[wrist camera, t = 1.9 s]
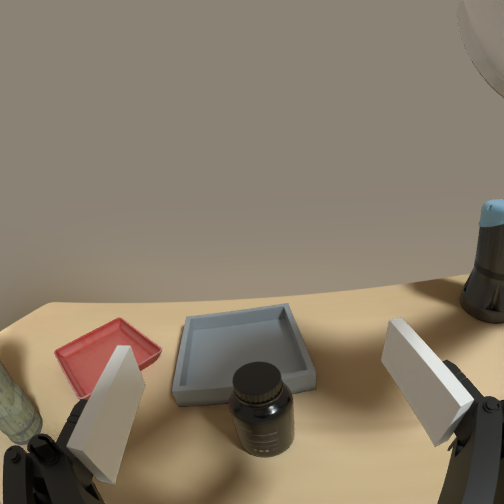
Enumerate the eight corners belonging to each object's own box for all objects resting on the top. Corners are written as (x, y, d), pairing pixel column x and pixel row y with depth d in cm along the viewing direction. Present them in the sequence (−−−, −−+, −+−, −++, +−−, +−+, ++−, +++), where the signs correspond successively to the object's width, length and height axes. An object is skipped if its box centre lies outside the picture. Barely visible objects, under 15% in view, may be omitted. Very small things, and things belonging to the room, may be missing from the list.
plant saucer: (168, 362, 46) (163, 347, 44) (88, 412, 33) (78, 399, 32) (124, 328, 57) (119, 316, 56) (59, 363, 44) (53, 351, 43)
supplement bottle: (245, 416, 33) (230, 352, 29) (296, 418, 31) (294, 353, 27) (234, 457, 26) (213, 399, 22) (292, 460, 25) (290, 403, 21)
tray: (288, 317, 55) (288, 303, 54) (315, 389, 36) (316, 372, 35) (190, 331, 54) (186, 316, 53) (178, 406, 35) (171, 391, 34)
